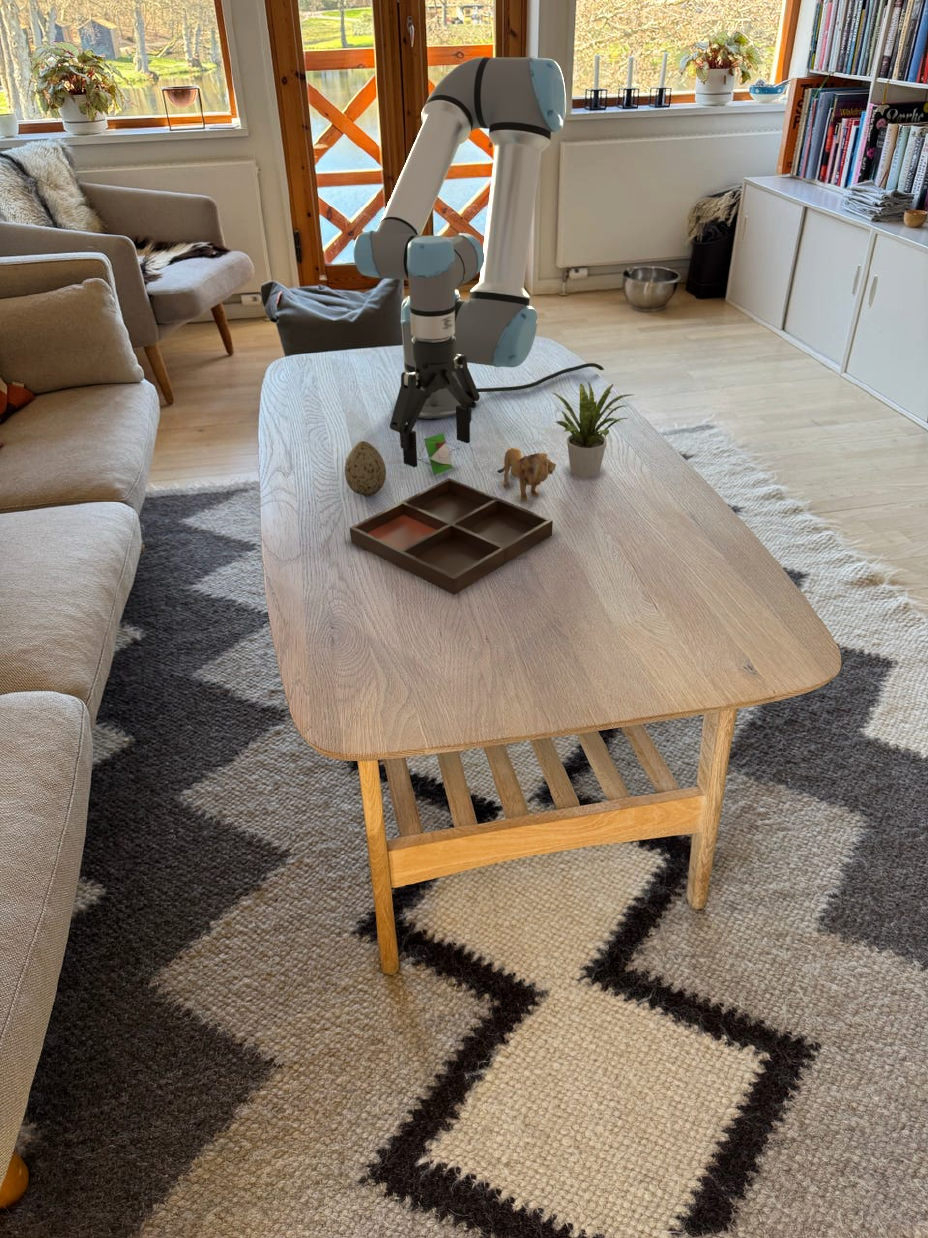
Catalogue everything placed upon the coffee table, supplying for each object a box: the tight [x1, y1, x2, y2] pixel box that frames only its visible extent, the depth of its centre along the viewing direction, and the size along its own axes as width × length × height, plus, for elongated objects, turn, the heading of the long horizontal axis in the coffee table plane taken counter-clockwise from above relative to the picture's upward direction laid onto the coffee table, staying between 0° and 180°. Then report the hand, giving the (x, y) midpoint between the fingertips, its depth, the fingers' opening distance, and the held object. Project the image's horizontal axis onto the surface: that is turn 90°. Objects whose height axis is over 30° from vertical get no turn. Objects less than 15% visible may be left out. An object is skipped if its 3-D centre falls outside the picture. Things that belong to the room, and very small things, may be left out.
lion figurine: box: [496, 446, 557, 502], centre depth 163 cm, size 15×5×9 cm, turn 34°
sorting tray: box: [349, 477, 554, 596], centre depth 152 cm, size 23×23×3 cm
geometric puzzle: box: [417, 432, 461, 476], centre depth 171 cm, size 7×7×8 cm
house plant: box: [550, 381, 634, 479], centre depth 166 cm, size 14×14×16 cm
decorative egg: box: [344, 440, 387, 497], centre depth 163 cm, size 7×7×10 cm
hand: (437, 452), depth 171 cm, fingers open, 13 cm apart
